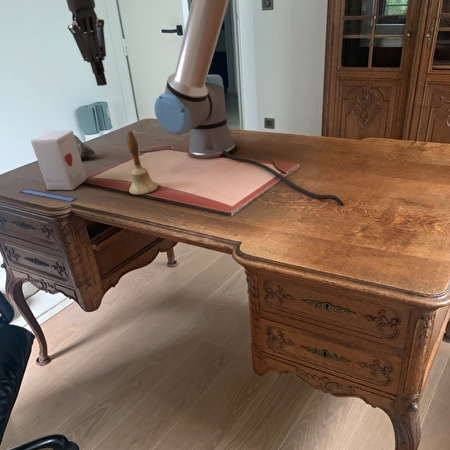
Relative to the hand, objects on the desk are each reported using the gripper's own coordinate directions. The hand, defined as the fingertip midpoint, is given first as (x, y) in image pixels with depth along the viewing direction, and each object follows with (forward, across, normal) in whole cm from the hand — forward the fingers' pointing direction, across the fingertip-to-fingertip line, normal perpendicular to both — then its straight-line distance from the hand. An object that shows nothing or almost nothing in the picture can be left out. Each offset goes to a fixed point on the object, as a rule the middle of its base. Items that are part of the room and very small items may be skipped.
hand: (102, 85), depth 136 cm
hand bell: (+24, +20, +25) cm, 40 cm away
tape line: (+23, +32, -2) cm, 39 cm away
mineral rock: (+23, +5, -18) cm, 29 cm away
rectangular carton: (+23, +23, -2) cm, 33 cm away
